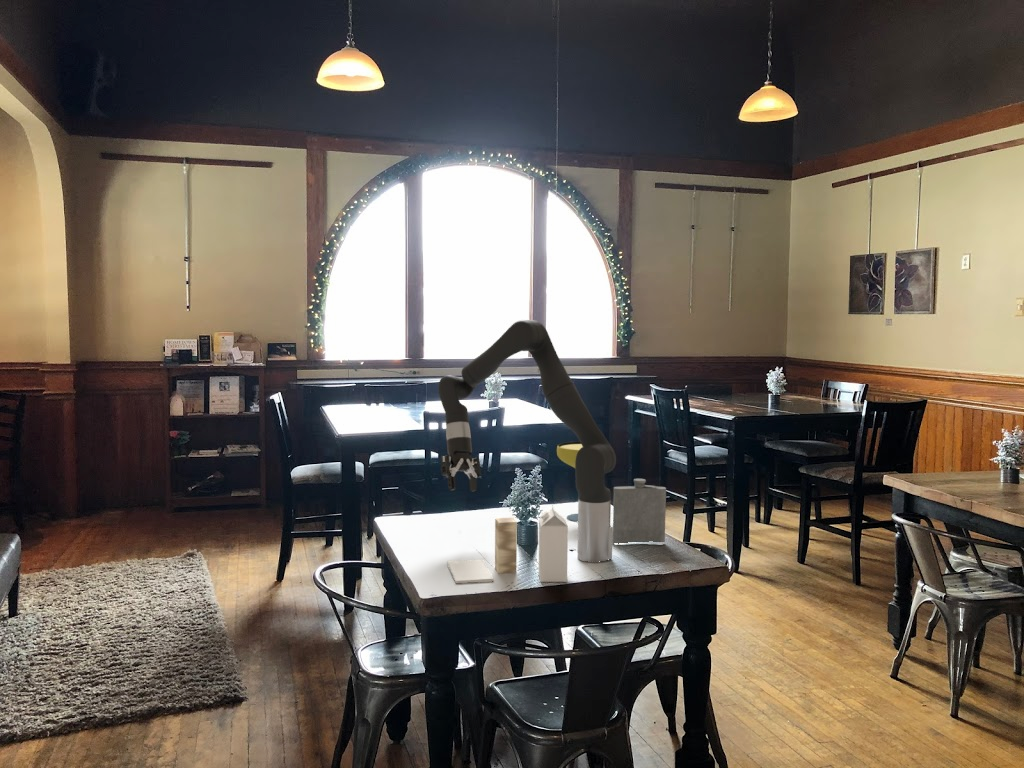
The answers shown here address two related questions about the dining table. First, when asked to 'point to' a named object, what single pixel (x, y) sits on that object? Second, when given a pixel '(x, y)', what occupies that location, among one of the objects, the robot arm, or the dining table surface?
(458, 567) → the white board
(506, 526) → the birch block
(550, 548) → the milk carton
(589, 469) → the robot arm
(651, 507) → the hip flask
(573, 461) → the cocktail glass
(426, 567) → the dining table surface
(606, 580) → the dining table surface
